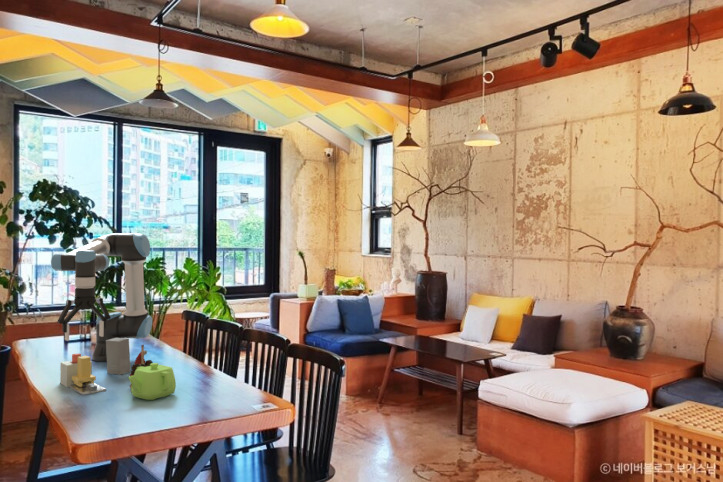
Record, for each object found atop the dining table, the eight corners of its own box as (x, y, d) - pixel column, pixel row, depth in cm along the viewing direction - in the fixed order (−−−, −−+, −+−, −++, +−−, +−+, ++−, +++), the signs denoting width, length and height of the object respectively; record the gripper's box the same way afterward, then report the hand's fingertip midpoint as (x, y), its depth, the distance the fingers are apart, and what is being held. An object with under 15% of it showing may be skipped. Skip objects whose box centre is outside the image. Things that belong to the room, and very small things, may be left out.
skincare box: (130, 372, 255) (131, 338, 255) (118, 375, 248) (118, 340, 248) (117, 370, 258) (118, 336, 258) (104, 373, 252) (105, 339, 252)
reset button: (79, 364, 237) (79, 353, 237) (82, 366, 235) (82, 354, 235) (70, 365, 235) (70, 354, 235) (73, 367, 232) (73, 355, 232)
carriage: (89, 380, 234) (89, 354, 234) (95, 384, 229) (96, 357, 229) (71, 383, 229) (72, 356, 229) (77, 387, 224) (78, 359, 224)
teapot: (145, 408, 203) (145, 372, 203) (112, 398, 214) (112, 365, 214) (185, 396, 219) (185, 363, 219) (152, 388, 230) (153, 357, 230)
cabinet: (85, 379, 241) (85, 358, 241) (92, 382, 236) (92, 362, 235) (60, 383, 234) (60, 362, 234) (67, 387, 228) (67, 365, 228)
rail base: (91, 383, 235) (91, 377, 235) (105, 390, 224) (106, 384, 224) (68, 387, 228) (69, 381, 228) (82, 394, 218) (82, 388, 218)
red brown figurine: (141, 392, 223) (142, 348, 223) (123, 389, 226) (124, 346, 226) (159, 385, 233) (160, 343, 233) (142, 383, 236) (142, 341, 236)
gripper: (111, 285, 240) (111, 333, 241) (49, 288, 222) (48, 340, 223) (119, 286, 235) (118, 335, 236) (55, 289, 217) (54, 343, 217)
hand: (84, 338), depth 229 cm, fingers open, 13 cm apart
